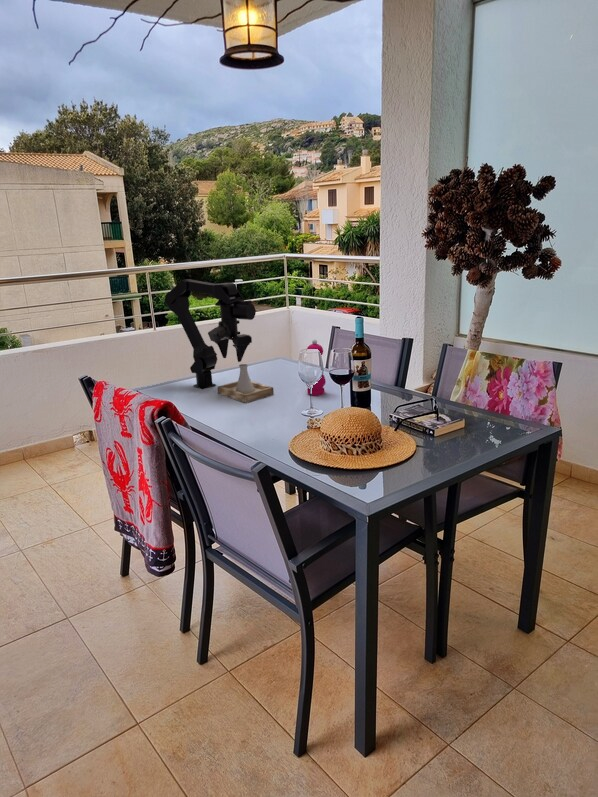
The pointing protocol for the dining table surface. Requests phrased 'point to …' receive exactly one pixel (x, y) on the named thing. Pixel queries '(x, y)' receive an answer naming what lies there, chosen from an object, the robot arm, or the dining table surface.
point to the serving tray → (258, 393)
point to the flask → (244, 380)
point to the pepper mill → (318, 386)
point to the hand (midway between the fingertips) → (232, 359)
